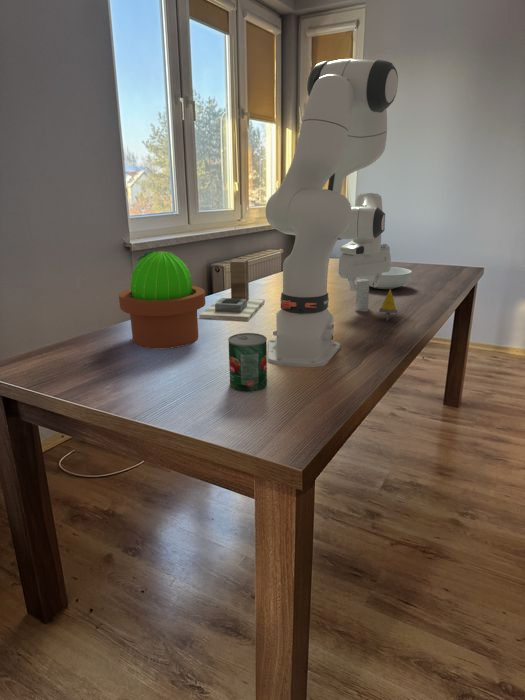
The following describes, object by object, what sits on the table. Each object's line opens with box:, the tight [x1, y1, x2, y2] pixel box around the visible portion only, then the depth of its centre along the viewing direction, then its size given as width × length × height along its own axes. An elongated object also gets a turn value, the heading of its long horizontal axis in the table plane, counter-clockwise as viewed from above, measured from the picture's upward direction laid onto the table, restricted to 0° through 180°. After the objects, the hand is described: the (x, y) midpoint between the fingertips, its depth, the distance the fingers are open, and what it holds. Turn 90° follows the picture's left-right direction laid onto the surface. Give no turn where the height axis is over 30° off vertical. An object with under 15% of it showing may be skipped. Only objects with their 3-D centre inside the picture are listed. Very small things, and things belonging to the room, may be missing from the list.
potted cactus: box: [118, 250, 206, 349], centre depth 129 cm, size 22×22×25 cm
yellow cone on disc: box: [378, 289, 398, 322], centre depth 148 cm, size 5×5×10 cm
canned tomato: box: [227, 332, 268, 393], centre depth 100 cm, size 8×8×11 cm
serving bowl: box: [359, 266, 413, 290], centre depth 195 cm, size 21×21×7 cm
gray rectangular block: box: [354, 278, 370, 312], centre depth 160 cm, size 4×4×10 cm
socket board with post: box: [198, 259, 266, 322], centre depth 160 cm, size 24×16×16 cm, turn 168°
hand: (364, 288), depth 160 cm, fingers open, 8 cm apart
